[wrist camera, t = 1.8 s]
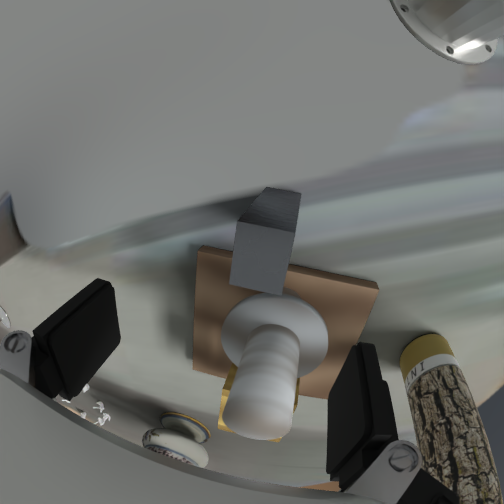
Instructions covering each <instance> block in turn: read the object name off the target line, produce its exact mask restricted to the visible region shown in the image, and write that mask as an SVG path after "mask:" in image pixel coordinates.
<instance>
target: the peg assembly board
mask: <svg viewBox="0 0 504 504" xmlns="http://www.w3.org/2000/svg"><path fill="white" fill-rule="evenodd" d="M232 257H233V252H231V251H227V250H222V249H218V248H213V247H208V246H204V245H203V246H202V247H201V248H200V249H199V250H198V255H197V270H196V287H195V306H194V332H193V370H197V371H200V372H204V373H207V374H210V375H214V376H218V377H221V378H225V379H226V381H225V384H224V387H223V390H222V398H221V406H220V414H219V422H218V429H221V430H225V431H229V432H233V433H237V434H239V435H242V436H244V437H248V438H252V439H258V440H269V441H275V442H279V441H280V439H281V437H282V436H284V435H286V434H287V433H288V432H289V431H290V429H291V424H292V416H293V413H294V411H295V409H296V407H297V403H298V395H303V396H309V397H315V398H322V399H328V395H329V392H330V390H331V388H332V386H333V384H334V382H335V380H336V378H337V376H338V374H339V372H340V370H341V368H342V366H343V364H344V362H345V360H346V358H347V356H348V354H349V352H350V349H351V347H352V346H353V345H356V344H357V341H358V339H359V337H360V335H361V333H362V330H363V328H364V326H365V324H366V321H367V319H368V317H369V314H370V312H371V309H372V307H373V305H374V302H375V300H376V297H377V295H378V292H379V288H378V285H377V283H376V282H371V281H367V280H362V279H357V278H353V277H348V276H343V275H338V274H334V273H329V272H324V271H320V270H315V269H310V268H306V267H301V266H296V265H292V264H288V269H287V273H286V278H285V282H284V286H283V291H282V295H281V296H279V295H275V294H270V293H266V292H261V291H257V290H252V289H248V288H244V287H239V286H235V285H231V284H229V281H230V273H231V265H232Z"/></svg>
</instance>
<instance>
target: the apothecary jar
mask: <svg viewBox="0 0 504 504" xmlns="http://www.w3.org/2000/svg"><path fill="white" fill-rule="evenodd" d="M160 422H161V424H162V426H163V427H164V428H165V429H163V428H157V429H151V430H148V431H147V432H146V433H145V434H144V436H143V439H142V442H143V446H144V448H146V449H149V450H151V451H154V452H156V453H159V454H162V455H164V456H167V457H170V458H173V459H176V460H179V461H181V462H185V463H188V464H191V465H194V466H197V467H201V468H204V467H205V466H206V465H207V463H208V454H207V452H206V450H205V449H204V447H203V446H202V445H201V444H200V443H204V442H206V441H207V439H208V438H210V432H209V430H208V429H207V428H206V427H205V426H204V425H203V424H202V423H200V422H199V421H197V420H195V419H193V418H191V417H189V416H186V415H183V414H179V413H172V412H169V413H164V414H162V415H161V417H160Z"/></svg>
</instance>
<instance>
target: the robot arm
mask: <svg viewBox="0 0 504 504" xmlns="http://www.w3.org/2000/svg"><path fill="white" fill-rule="evenodd" d="M390 2H391V5H392V7H393V9H394V11H395V13H396V14H397V16H398V17H399V19H400V21H401V22H402V23H403V24H404V26H405V27H406V28H407V30H409V32H410V33H411V34H412V35H413V36H414V37H415V38H417V40H419V41H420V42H421V43H422V44H423V45H425V46H426V47H427V48H428V49H430V50H432V51H433V52H435V53H436V54H438V55H439V56H442V57H443V58H446V59H447V60H450V61H453V62H456V63H459V64H465V65H473V64H478V63H482V62H484V61H486V60H488V59H490V58H491V57H492V56H493V54H494V53H495V50H496V48H497V43H498V38H500V37H502V36H504V0H390ZM402 10H403V11H402ZM33 334H34V336H33V337H32V338H31V336H30V334H28V333H27V332H25V331H19V330H18V331H13V332H11V333H9V334H7V335H6V336H5V337H4V338H3V340H2V342H1V345H0V504H459V502H458V498H457V496H456V494H455V493H454V492H453V491H452V490H450V489H449V488H447V487H446V486H445V485H443V484H442V483H441V482H439V481H438V480H437V479H435V478H434V477H433V476H431V475H430V474H429V473H427V472H426V471H425V470H424V469H422V468H421V465H422V455H421V452H420V450H419V449H418V447H417V446H415V445H414V444H413V443H411V442H409V441H405V440H398V434H397V428H396V422H395V417H394V411H393V406H392V401H391V396H390V392H389V387H388V384H387V382H386V381H385V380H382V375H381V370H380V366H379V362H378V357H377V353H376V349H375V346H374V344H369V343H363V342H359V343H358V344H357V346H356V345H353V346H352V347H351V349H350V352H349V354H348V356H347V358H346V360H345V362H344V364H343V366H342V368H341V370H340V372H339V374H338V376H337V378H336V380H335V382H334V384H333V386H332V388H331V390H330V392H329V395H328V432H327V463H326V472H327V474H330V481H339V487H340V488H341V489H340V490H339V491H338V492H335V491H325V490H315V489H306V488H298V487H290V486H283V485H277V484H271V483H265V482H259V481H254V480H249V479H244V478H239V477H235V476H231V475H226V474H222V473H219V472H215V471H211V470H207V469H204V468H201V467H197V466H194V465H191V464H188V463H185V462H181V461H179V460H176V459H173V458H170V457H167V456H164V455H162V454H159V453H156V452H154V451H151V450H149V449H146V448H144V447H141V446H139V445H137V444H134V443H132V442H130V441H128V440H125V439H123V438H121V437H119V436H117V435H115V434H113V433H111V432H109V431H107V430H105V429H103V428H101V427H99V426H97V425H95V424H93V423H91V422H89V421H87V420H86V419H84V418H82V417H80V416H79V415H77V414H75V413H73V412H72V411H70V410H68V409H67V408H65V407H63V406H62V405H60V404H59V403H57V402H56V396H57V395H58V394H59V395H60V396H61V397H63V398H64V399H66V400H68V401H70V400H71V399H72V398H73V396H74V397H76V396H77V395H78V394H79V393H80V392H81V390H82V389H83V388H84V387H85V385H86V384H87V383H88V382H89V380H90V379H91V378H92V377H93V375H94V374H95V373H96V372H97V370H98V369H99V368H100V367H101V365H102V364H103V363H104V362H105V361H106V359H107V358H108V357H109V356H110V355H111V353H112V352H113V351H114V350H115V349H116V347H117V346H118V345H119V343H120V339H121V336H120V330H119V323H118V316H117V308H116V300H115V291H114V288H113V287H112V285H111V283H110V282H109V281H105V280H102V279H99V278H97V279H95V280H94V281H93V282H91V283H90V284H89V285H88V286H86V287H85V288H84V289H82V290H81V291H80V292H79V293H77V294H76V295H75V296H74V297H72V298H71V299H70V300H69V301H67V302H66V303H65V304H64V305H63V306H61V307H60V308H59V309H58V310H56V311H55V312H54V313H53V314H52V315H50V316H49V317H48V318H47V319H46V320H45V321H43V322H42V323H41V324H40V325H39V326H38V327H36V328H35V329H34V330H33Z"/></svg>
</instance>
